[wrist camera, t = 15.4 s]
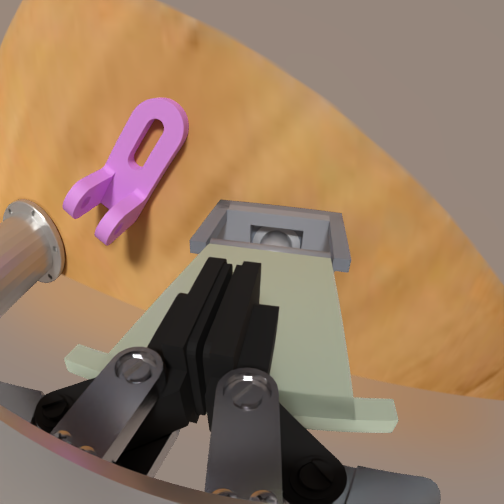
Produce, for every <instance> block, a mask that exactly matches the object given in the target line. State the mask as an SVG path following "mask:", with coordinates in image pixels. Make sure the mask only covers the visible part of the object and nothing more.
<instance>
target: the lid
mask: <svg viewBox="0 0 504 504" xmlns="http://www.w3.org/2000/svg"><path fill="white" fill-rule="evenodd" d="M208 257H216V258H224V259H226V260H227V263H228V264H232V266H233V272H234V270H235V267H236V265H242V264H243V262H244V261H249V262H258V263H261V283H260V299H259V304H264V305H271V306H279V316H278V325H277V333H276V340H275V347H274V353H273V359H272V364H271V370H270V376H271V377H272V378H273V379H274V381H275V382H276V383H277V387H278V391H279V402H280V403H281V404H282V406H283V407H284V408H285V409H286V410H287V411H288V412H289V413H290V414H291V415H292V416H293V417H294V418H295V419H296V420H297V421H298V422H299V423H300V424H301V425H302V426H303V427H304V428H305V429H312V430H325V431H342V432H373V433H375V432H376V433H381V432H382V433H385V432H388V433H390V432H392V431H393V429H394V428H395V426H396V424H397V422H398V417H397V413H396V408H395V404H394V400H393V399H375V398H353V391H352V383H351V375H350V368H349V361H348V354H347V347H346V341H345V334H344V328H343V322H342V316H341V310H340V305H339V299H338V293H337V288H336V283H335V277H334V272H333V267H332V262H331V258H330V257H331V252H324V251H316V250H308V249H300V248H292V247H283V246H275V245H267V244H258V243H250V242H242V241H233V240H225V239H216V238H211V240H210V244H208V245H207V246H206V247H205V248H204V249H203V250H202V251H201V252H200V253H199V255H198V256H197V257H196V258H195V259H194V260H193V261H192V262H191V263H190V264H189V265H188V266H187V267H186V268H185V269H184V271H183V272H182V273H181V274H180V275H179V276H178V277H177V278H176V279H175V280H174V281H173V282H172V283H171V285H170V286H169V287H168V288H167V289H166V290H165V291H164V292H163V293H162V294H161V295H160V297H159V298H158V299H157V300H156V301H155V302H154V303H153V304H152V305H151V306H150V308H149V309H148V310H147V311H146V312H145V313H144V314H143V316H141V318H140V319H139V320H138V321H137V322H136V323H135V324H134V325H133V327H132V328H131V329H130V330H129V331H128V332H127V333H126V334H125V336H124V337H123V338H122V339H121V340H120V341H119V343H117V345H116V346H115V347H114V348H113V349H112V350H111V351H110V353H109V354H108V353H105V352H101V351H98V350H95V349H92V348H89V347H86V346H83V345H80V344H78V345H77V346H76V347H75V348H74V349H73V350H72V351H71V352H70V353H69V354H68V355H67V356H66V357H65V358H64V360H65V363H66V366H67V370H68V371H69V372H71V373H74V374H76V375H79V376H81V377H84V378H87V379H92V378H95V377H97V376H98V375H99V374H100V372H101V371H102V370H103V369H104V368H105V366H106V365H107V364H108V363H109V362H110V361H111V359H112V358H113V357H114V356H115V355H117V354H118V353H119V352H120V351H122V350H124V349H127V348H131V347H146V348H147V346H148V344H149V343H150V341H151V339H152V337H153V336H154V334H155V332H156V330H157V329H158V327H159V325H160V323H161V322H162V320H163V318H164V316H165V315H166V313H167V311H168V310H169V308H170V306H171V305H172V303H173V301H174V299H175V298H176V296H177V295H178V294H179V293H187V294H188V293H189V291H190V289H191V287H192V285H193V284H194V282H195V280H196V278H197V277H198V275H199V273H200V271H201V269H202V268H203V266H204V264H205V262H206V261H207V259H208ZM206 414H207V413H206Z"/></svg>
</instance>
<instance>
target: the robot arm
mask: <svg viewBox="0 0 504 504" xmlns="http://www.w3.org/2000/svg"><path fill="white" fill-rule="evenodd" d="M64 264H65V254H64V248H63V243H62V241H61V238H60V235H59V233H58V231H57V228H56V227H55V225H54V223H53V222H52V220H51V219H50V217H49V216H48V215H47V213H46V212H45V211H44V210H43V209H42V208H41V207H39V206H38V205H37V204H35V203H34V202H32V201H30V200H26V199H18V200H16V201H14V202H12V203H11V204H10V205H8V207H7V208H6V210H5V213H4V216H3V222H1V223H0V317H1V316H2V315H3V314H4V313H5V312H6V311H7V310H8V309H9V308H10V307H11V306H12V305H13V304H14V303H15V302H16V301H17V300H18V299H19V298H20V297H21V296H22V295H24V293H25V292H27V291H28V289H30V288H31V287H32V286H33V285H34V284H35V283H36V282H37V281H40V282H44V283H49V282H52V281H54V280H56V278H58V277H59V276H60V274H61V273H62V271H63V268H64ZM260 283H261V263H258V262H249V261H244V262H243V264H242V265H236V267H235V270H234V272H233V266H232V264H228V263H227V260H226V259H224V258H216V257H208V259H207V261H206V262H205V264H204V266H203V268H202V269H201V271H200V273H199V275H198V277H197V278H196V280H195V282H194V284H193V285H192V287H191V289H190V291H189V293H188V294H187V293H179V294H178V295H177V296H176V298H175V299H174V301H173V303H172V305H171V306H170V308H169V310H168V311H167V313H166V315H165V316H164V318H163V320H162V322H161V323H160V325H159V327H158V329H157V330H156V332H155V334H154V336H153V337H152V339H151V341H150V343H149V344H148V346H147V348H146V347H131V348H127V349H124V350H122V351H120V352H119V353H118V354H117V355H115V356H114V357H113V358H112V359H111V361H110V362H109V363H108V364H107V365H106V366H105V368H104V369H103V370H102V371H101V372H100V374H99V375H98V376H97V377H95V378H92V379H89V380H87V381H83V382H80V383H78V384H74V385H72V386H68V387H65V388H62V389H59V390H56V391H53V392H50V393H49V394H46V395H44V393H43V392H42V391H38V390H33V389H29V388H24V387H20V386H16V385H12V384H8V383H4V382H0V504H440V500H441V499H440V490H439V488H438V486H437V484H436V483H435V482H433V481H432V480H431V479H429V478H425V477H421V476H413V475H407V474H400V473H394V472H388V471H383V470H376V469H372V468H366V467H362V466H357V468H353V467H349V466H345V465H342V464H341V463H340V461H339V460H338V459H337V458H335V456H334V455H332V453H330V452H329V451H328V450H327V449H326V448H325V447H324V446H323V445H322V444H321V443H320V442H319V441H318V440H317V439H316V438H315V437H314V436H312V434H311V433H309V432H308V431H307V430H306V429H305V428H304V427H303V426H302V425H301V424H300V423H299V422H298V421H297V420H296V419H295V418H294V417H293V416H292V415H291V414H290V413H289V412H288V411H287V410H286V409H285V408H284V407H283V406H282V404H281V403H280V402H279V391H278V387H277V383H276V382H275V381H274V379H273V378H272V377H271V376H270V370H271V364H272V359H273V353H274V347H275V340H276V333H277V325H278V316H279V306H271V305H264V304H259V299H260ZM206 413H207V415H208V423H209V430H210V432H211V437H210V447H209V454H208V464H207V473H206V483H205V492H203V491H199V490H194V489H191V488H187V487H183V486H179V485H175V484H172V483H169V482H165V481H162V480H158V479H155V478H154V476H155V475H156V473H157V471H158V470H159V468H160V466H161V465H162V463H163V461H164V459H165V458H166V456H167V454H168V453H169V451H170V449H171V447H172V446H173V444H174V442H175V441H176V439H177V437H178V435H179V432H180V429H181V428H183V427H186V426H188V424H189V422H193V423H197V421H198V418H199V415H205V414H206Z"/></svg>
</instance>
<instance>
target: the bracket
mask: <svg viewBox="0 0 504 504" xmlns="http://www.w3.org/2000/svg"><path fill="white" fill-rule="evenodd" d="M155 119H159V120H160V121H161V122H162V123H163V125H164V132H163V134H162V136H161V138H160V139H159V141H158V142H157V144H156V146H155V147H154V149H153V151H152V152H151V154H150V156H149V157H148V159H147V161H146V163H145V164H144V166H143V167H141V166H139V165H137V164H136V162H135V160H134V154H135V152H136V150H137V149H138V147H139V145H140V143H141V141H142V140H143V138H144V136H145V135H146V133H147V131H148V129H149V128H150V126H151V124H152V123H153V121H154V120H155ZM188 130H189V123H188V118H187V115H186V113H185V111H184V109H183V108H182V107H181V106H180V105H179V104H178V103H177V102H175V101H173V100H171V99H168V98H153V99H148V100H146V101H144V102H142V103H141V104H139V105H138V106H137V107H136V108H135V110H134V111H133V113H132V114H131V116H130V118H129V120H128V122H127V123H126V125H125V127H124V129H123V131H122V133H121V135H120V136H119V138H118V140H117V142H116V144H115V146H114V148H113V150H112V152H111V154H110V156H109V158H108V160H107V162H106V164H105V166H104V167H103V168H102V169H100V170H98V171H96V172H94V173H92V174H90V175H88V176H86V177H84V178H82V179H81V180H79V181H78V182H77V183H76V184H75V185H74V186H73V187H72V188H71V189H70V191H69V192H68V194H67V195H66V197H65V200H64V202H63V209H64V210H65V211H66V212H67V213H68V214H69V215H71V216H72V217H73V218H74V219H77V218H79V217H81V216H82V215H83V214H85V213H86V212H88V211H89V210H91V209H92V208H94V207H95V206H97V205H98V204H100V203H102V204H103V205H104V206H105V207H107V208H108V209H109V211H108V212H107V213H106V214H105V215H104V217H103V218H102V220H101V221H100V223H99V224H98V226H97V228H96V231H95V236H96V237H97V238H98V239H99V240H100V241H102V242H103V243H104V244H105V245H109V244H111V243H112V242H113V241H114V240H115V239H116V238H117V237H119V236H120V235H121V234H122V233H123V232H124V231H125V230H126V229H128V228H129V227H130V226H131V225H132V224H133V223H134V222H136V220H137V218H138V217H139V215H140V213H141V211H142V210H143V208H144V206H145V204H146V203H147V201H148V199H149V198H150V196H151V194H152V193H153V191H154V189H155V188H156V186H157V184H158V183H159V181H160V179H161V178H162V176H163V175H164V173H165V171H166V170H167V168H168V167H169V165H170V164H171V162H172V160H173V159H174V157H175V156H176V154H177V153H178V151H179V150H180V148H181V147H182V145H183V144H184V142H185V140H186V138H187V135H188Z"/></svg>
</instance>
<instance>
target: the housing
mask: <svg viewBox="0 0 504 504" xmlns="http://www.w3.org/2000/svg"><path fill="white" fill-rule="evenodd" d="M211 238H216V239H225V240H233V241H242V242H250V243H258V244H267V245H275V246H283V247H292V248H300V249H308V250H316V251H324V252H331V257H330V258H331V262H332V267H333V272H334V271H341V272H349V267H350V263H351V257H350V252H349V246H348V241H347V237H346V232H345V227H344V222H343V218H342V213H336V212H328V211H320V210H312V209H304V208H295V207H286V206H277V205H268V204H259V203H249V202H239V201H228V200H220V201H219V202H218V203H217V205H216V206H215V207H214V209H213V210H212V211H211V213H210V214H209V215H208V217H207V218H206V219H205V220H204V222H203V223H202V224H201V226H200V227H199V228H198V230H197V231H196V232H195V234H194V235H193V237H192V238H191V239H190V253H196V254H199V253H200V252H201V251H202V250H203V249H204V248H205V247H206V246H207V245H208V244H210V240H211Z"/></svg>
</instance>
